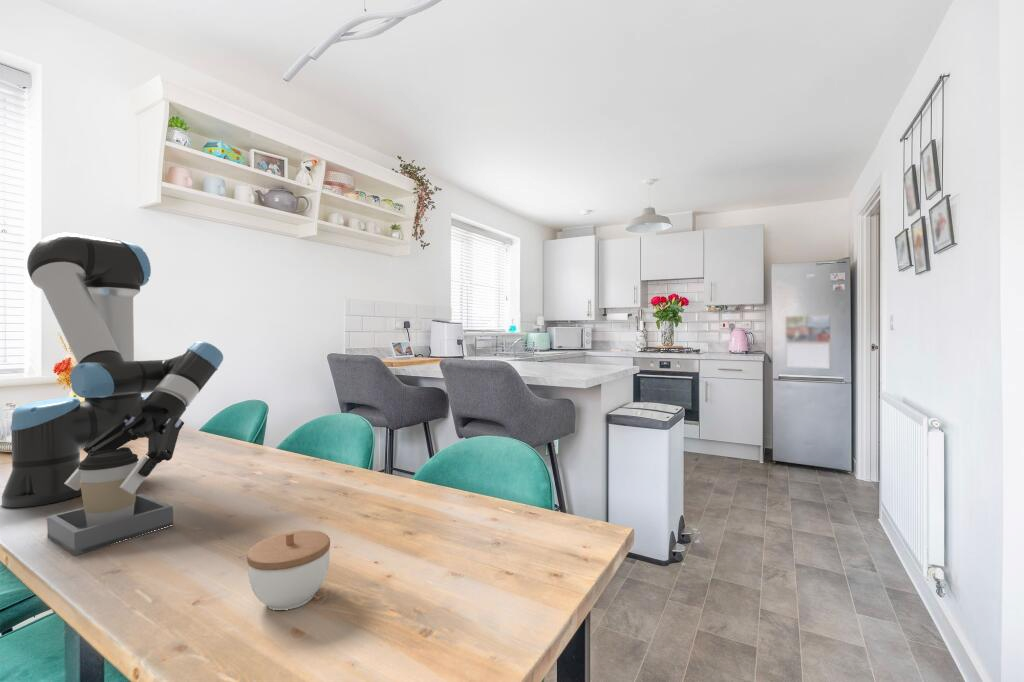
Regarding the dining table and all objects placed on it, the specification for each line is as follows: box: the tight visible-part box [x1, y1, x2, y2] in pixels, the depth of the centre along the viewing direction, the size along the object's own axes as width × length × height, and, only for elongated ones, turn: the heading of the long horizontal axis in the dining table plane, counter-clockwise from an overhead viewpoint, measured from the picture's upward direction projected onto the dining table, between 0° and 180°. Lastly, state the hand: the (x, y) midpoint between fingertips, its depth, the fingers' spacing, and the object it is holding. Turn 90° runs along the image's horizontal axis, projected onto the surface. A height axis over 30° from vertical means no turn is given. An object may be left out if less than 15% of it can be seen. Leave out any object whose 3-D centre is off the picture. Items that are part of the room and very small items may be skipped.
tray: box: [46, 493, 174, 556], centre depth 92 cm, size 15×15×4 cm
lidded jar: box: [246, 529, 331, 611], centre depth 67 cm, size 11×11×9 cm
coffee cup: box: [78, 446, 140, 527], centre depth 92 cm, size 9×9×15 cm
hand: (98, 489), depth 90 cm, fingers open, 13 cm apart
